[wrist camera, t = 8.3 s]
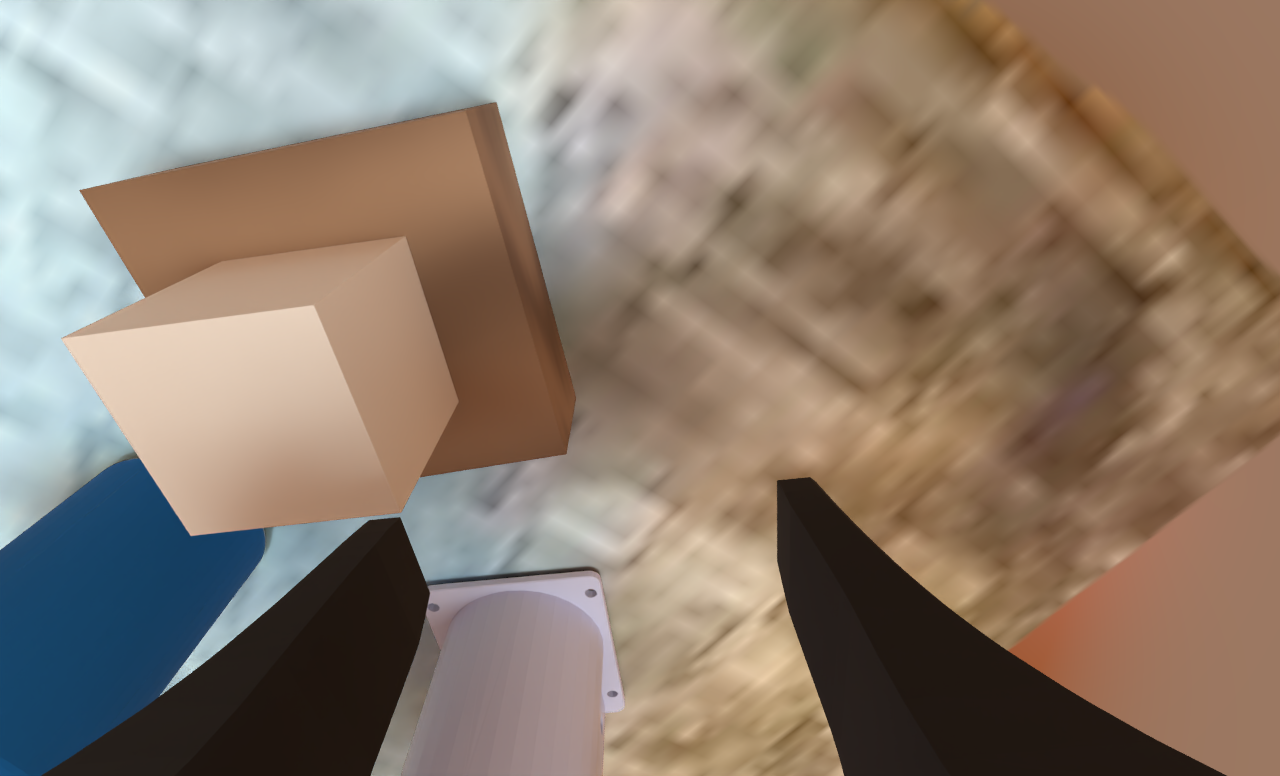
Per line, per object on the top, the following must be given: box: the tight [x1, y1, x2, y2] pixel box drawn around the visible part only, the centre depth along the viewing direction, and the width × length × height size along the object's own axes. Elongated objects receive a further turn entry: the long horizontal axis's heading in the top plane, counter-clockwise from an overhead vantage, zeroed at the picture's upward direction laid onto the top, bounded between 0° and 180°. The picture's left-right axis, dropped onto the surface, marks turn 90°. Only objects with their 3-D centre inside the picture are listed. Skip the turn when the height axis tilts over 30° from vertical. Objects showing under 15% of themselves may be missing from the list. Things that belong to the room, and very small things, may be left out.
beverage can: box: [0, 458, 266, 776], centre depth 19 cm, size 6×6×12 cm
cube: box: [61, 236, 459, 536], centre depth 15 cm, size 5×5×5 cm
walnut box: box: [79, 102, 576, 477], centre depth 19 cm, size 10×10×4 cm
